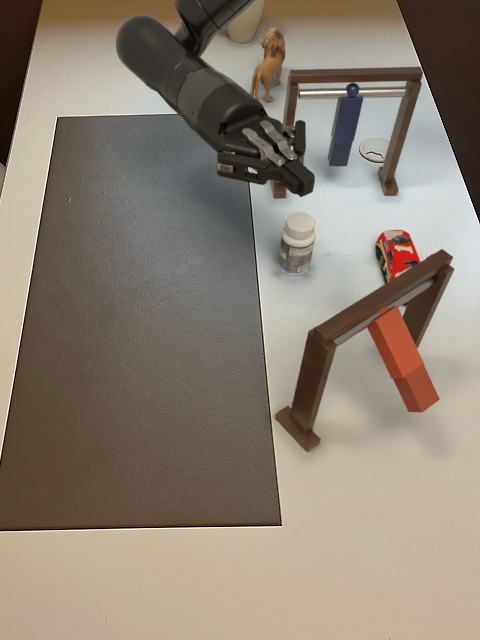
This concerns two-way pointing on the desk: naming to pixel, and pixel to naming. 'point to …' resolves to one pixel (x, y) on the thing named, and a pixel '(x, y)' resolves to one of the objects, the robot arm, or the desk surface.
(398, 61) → the desk surface
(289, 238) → the pill bottle
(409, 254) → the race car
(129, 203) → the desk surface
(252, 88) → the lion figurine
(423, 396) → the two-tone orange prism
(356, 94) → the far pendulum
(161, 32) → the robot arm
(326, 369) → the near rack
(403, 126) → the far rack
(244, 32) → the mug
